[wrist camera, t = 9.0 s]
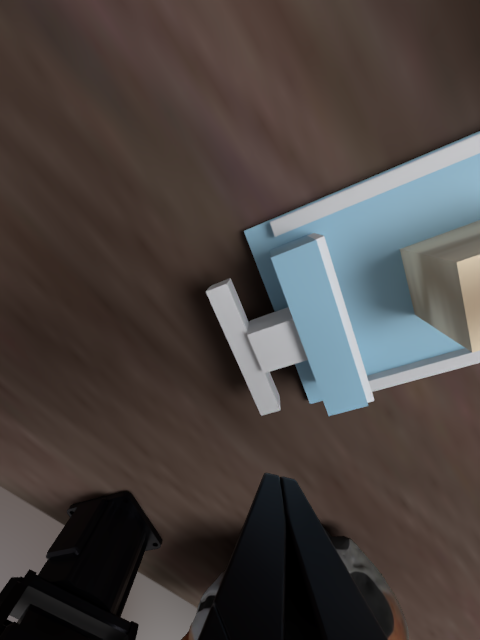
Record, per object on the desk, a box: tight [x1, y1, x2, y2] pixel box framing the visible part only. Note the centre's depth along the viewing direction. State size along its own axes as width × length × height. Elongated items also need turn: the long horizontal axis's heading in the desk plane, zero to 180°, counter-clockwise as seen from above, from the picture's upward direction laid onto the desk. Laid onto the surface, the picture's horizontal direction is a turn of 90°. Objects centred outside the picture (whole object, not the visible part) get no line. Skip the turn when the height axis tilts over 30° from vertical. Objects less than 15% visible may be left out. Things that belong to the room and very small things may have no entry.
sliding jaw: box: [206, 233, 374, 416], centre depth 16 cm, size 9×6×4 cm
